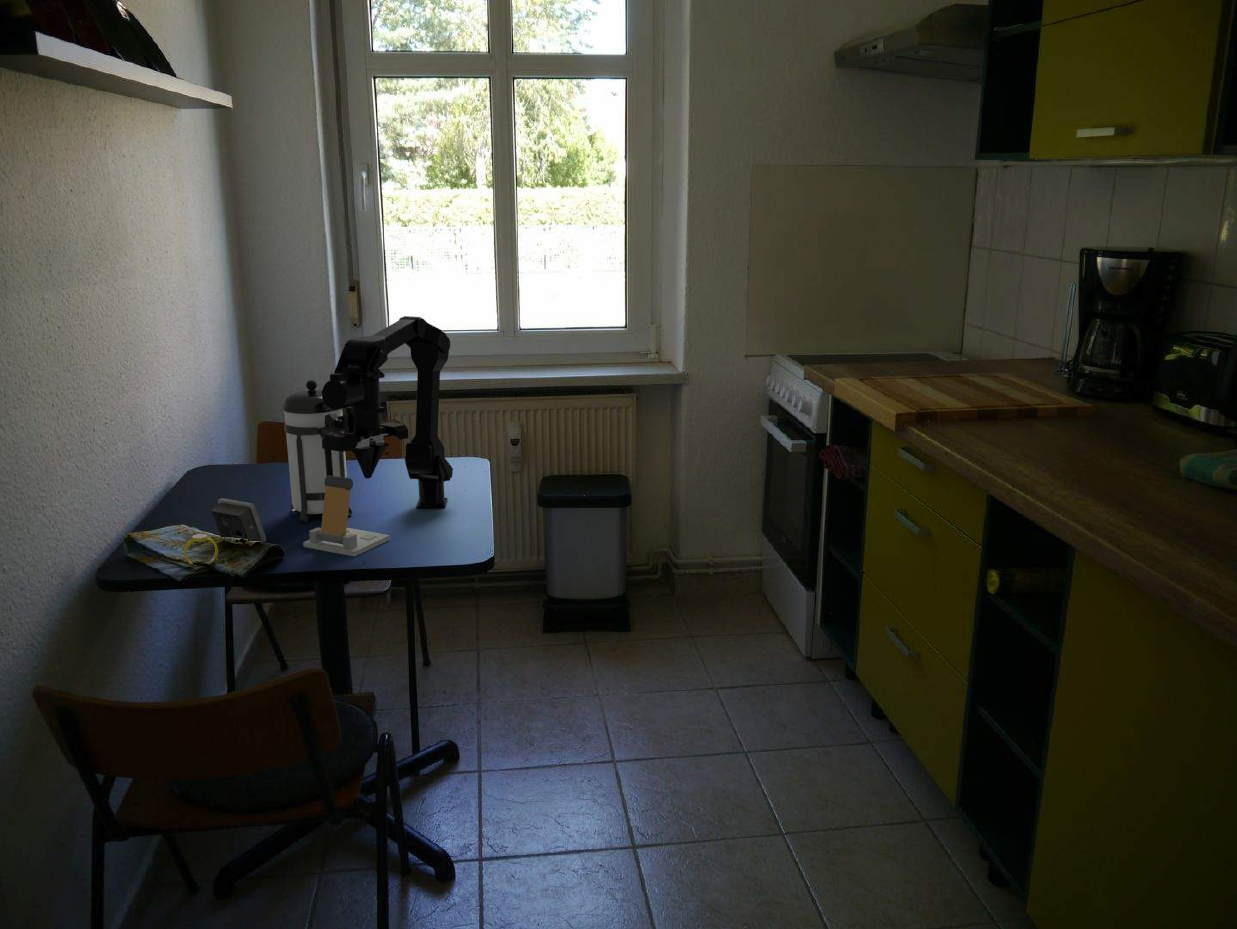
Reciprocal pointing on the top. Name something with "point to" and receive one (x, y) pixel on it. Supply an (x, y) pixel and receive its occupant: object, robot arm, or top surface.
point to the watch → (199, 538)
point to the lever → (335, 509)
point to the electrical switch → (238, 520)
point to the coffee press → (310, 450)
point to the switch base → (347, 542)
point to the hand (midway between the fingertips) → (367, 478)
